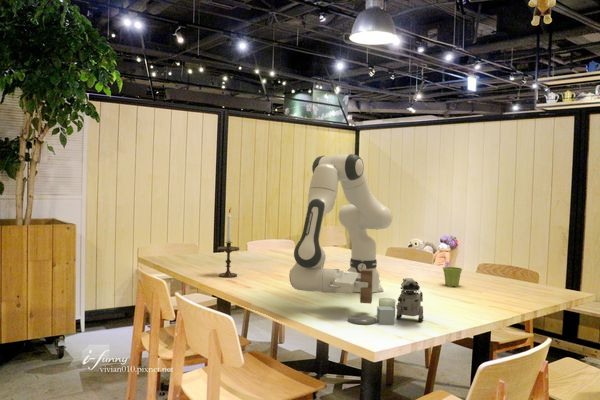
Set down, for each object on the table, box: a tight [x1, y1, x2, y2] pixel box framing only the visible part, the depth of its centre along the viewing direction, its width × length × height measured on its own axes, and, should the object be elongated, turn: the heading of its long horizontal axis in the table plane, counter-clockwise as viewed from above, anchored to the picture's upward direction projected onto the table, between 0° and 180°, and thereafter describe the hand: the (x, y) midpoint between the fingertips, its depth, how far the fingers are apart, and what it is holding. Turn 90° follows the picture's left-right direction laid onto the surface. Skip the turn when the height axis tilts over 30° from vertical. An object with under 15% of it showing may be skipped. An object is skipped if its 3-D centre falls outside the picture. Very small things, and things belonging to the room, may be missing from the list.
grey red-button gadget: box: [395, 277, 424, 323], centre depth 178 cm, size 9×12×15 cm
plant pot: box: [442, 266, 463, 288], centre depth 247 cm, size 9×9×9 cm
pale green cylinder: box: [378, 297, 396, 318], centre depth 185 cm, size 6×6×6 cm
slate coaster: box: [347, 314, 378, 326], centre depth 177 cm, size 10×10×1 cm
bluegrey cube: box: [376, 305, 396, 325], centre depth 176 cm, size 5×5×5 cm
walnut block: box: [359, 269, 373, 305], centre depth 188 cm, size 4×4×12 cm
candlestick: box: [217, 207, 240, 279], centre depth 256 cm, size 11×11×35 cm
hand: (368, 283), depth 187 cm, fingers closed on walnut block, 4 cm apart
